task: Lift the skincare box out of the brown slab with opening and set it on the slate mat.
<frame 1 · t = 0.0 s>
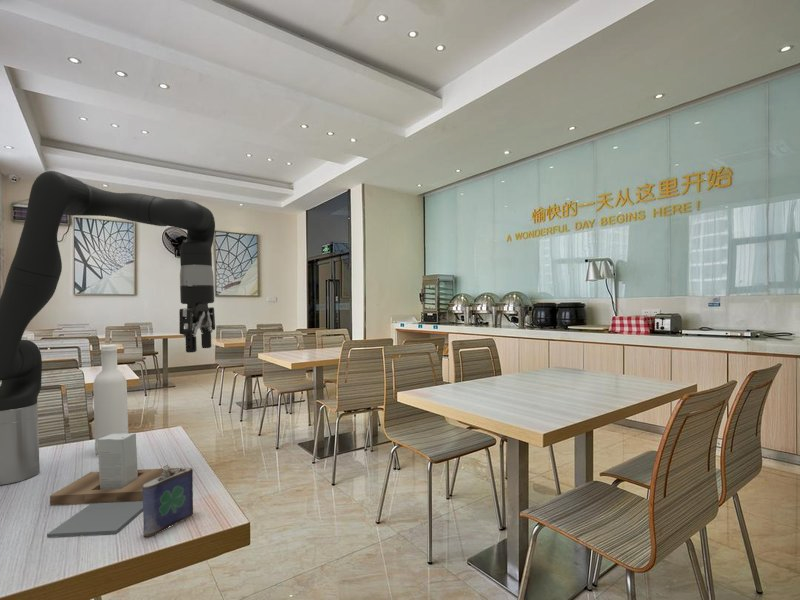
hand: (199, 350, 103), 29 cm above the table, tool pointing down, fingers open, 8 cm apart
bottle: (112, 452, 118), on the table
slate mat: (102, 519, 80), on the table
brown slab with opening: (119, 489, 93), on the table
flask: (169, 525, 77), on the table
skincare box: (119, 490, 93), resting in brown slab with opening
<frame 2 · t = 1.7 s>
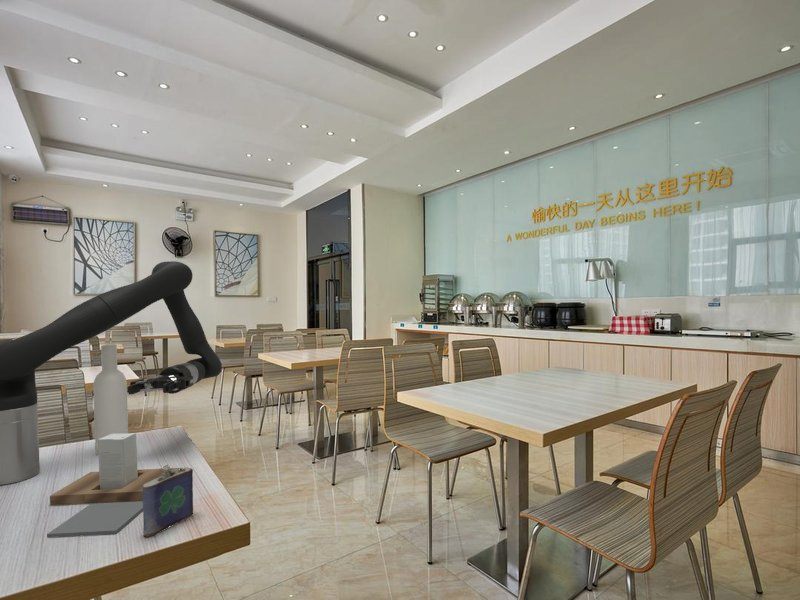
hand: (147, 389, 105), 20 cm above the table, tool horizontal, fingers open, 8 cm apart
nothing on the table moved.
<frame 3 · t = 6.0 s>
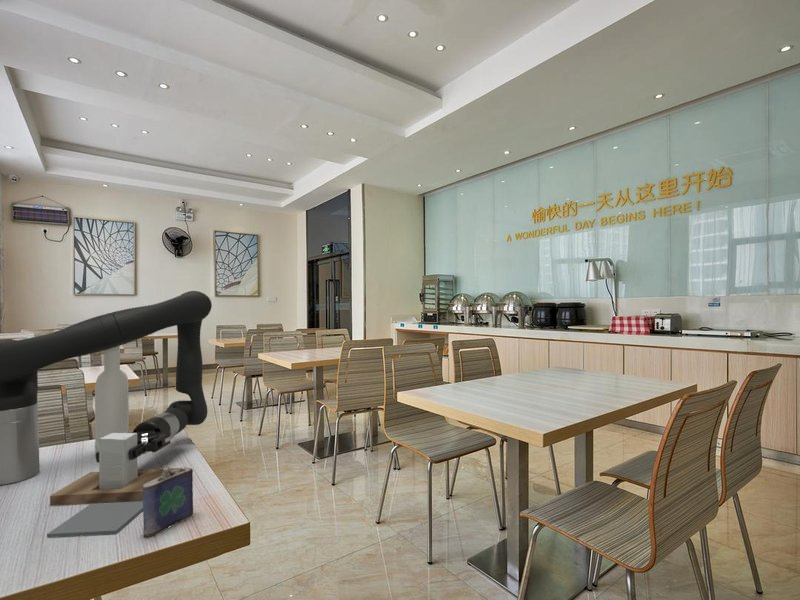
hand: (114, 456, 91), 8 cm above the table, tool horizontal, fingers closed on skincare box, 6 cm apart
bottle: (112, 450, 118), on the table, touching arm
skincare box: (118, 490, 93), resting in brown slab with opening, touching gripper
everything else where it was.
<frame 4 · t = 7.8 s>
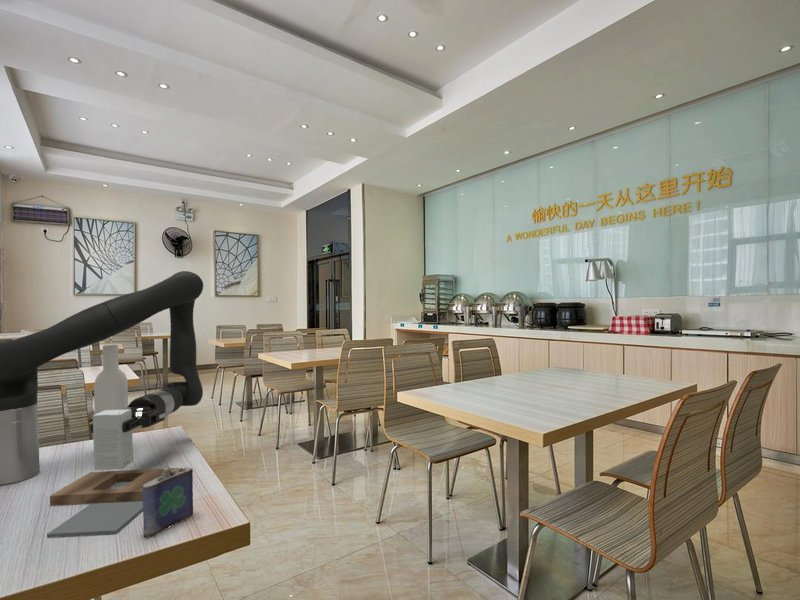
hand: (108, 428, 90), 14 cm above the table, tool horizontal, fingers closed on skincare box, 6 cm apart
bottle: (112, 451, 118), on the table
skincare box: (114, 467, 92), point 5 cm above the table, touching gripper
everything else where it was.
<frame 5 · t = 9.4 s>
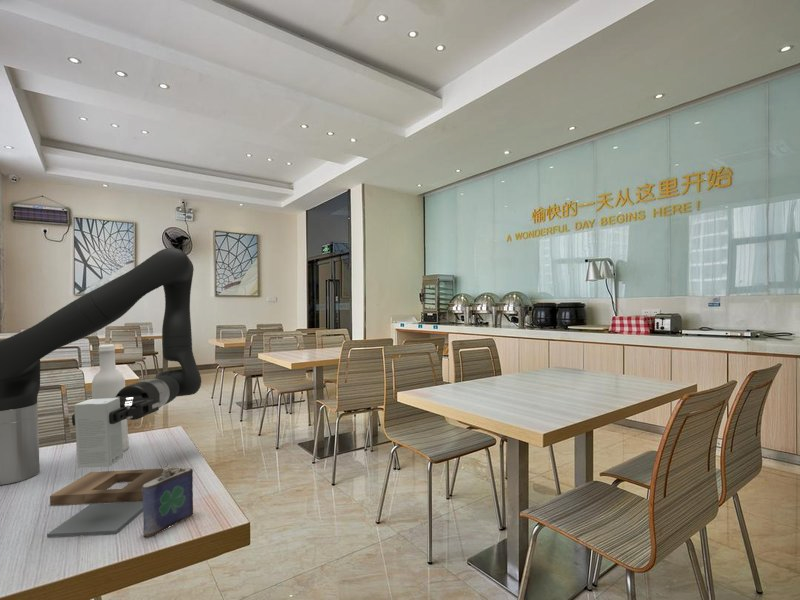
hand: (93, 419, 78), 20 cm above the table, tool horizontal, fingers closed on skincare box, 6 cm apart
skincare box: (100, 464, 80), point 11 cm above the table, touching gripper
when the fingers open (9 cm above the table, at t = 12.5 s): skincare box stays where it is, resting on slate mat.
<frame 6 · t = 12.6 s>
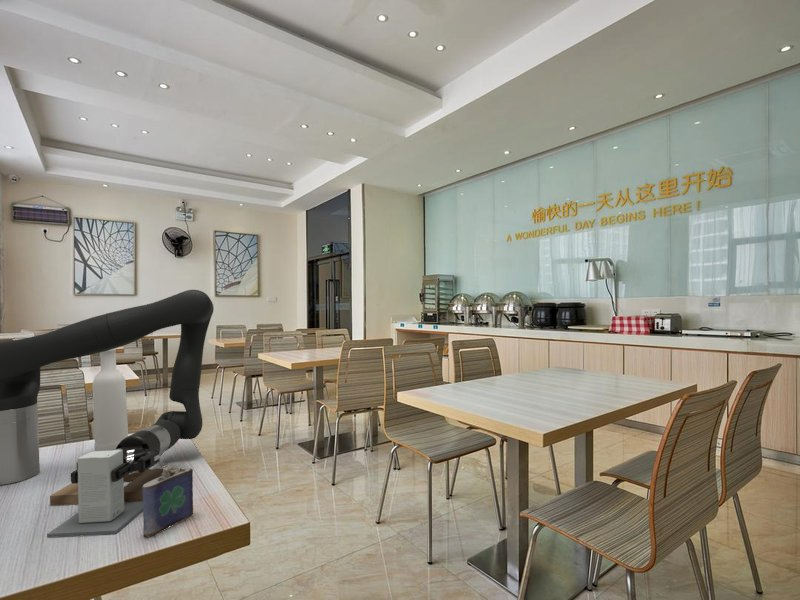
hand: (93, 477, 78), 9 cm above the table, tool horizontal, fingers open, 6 cm apart
skincare box: (101, 518, 79), resting on slate mat
everything else where it was.
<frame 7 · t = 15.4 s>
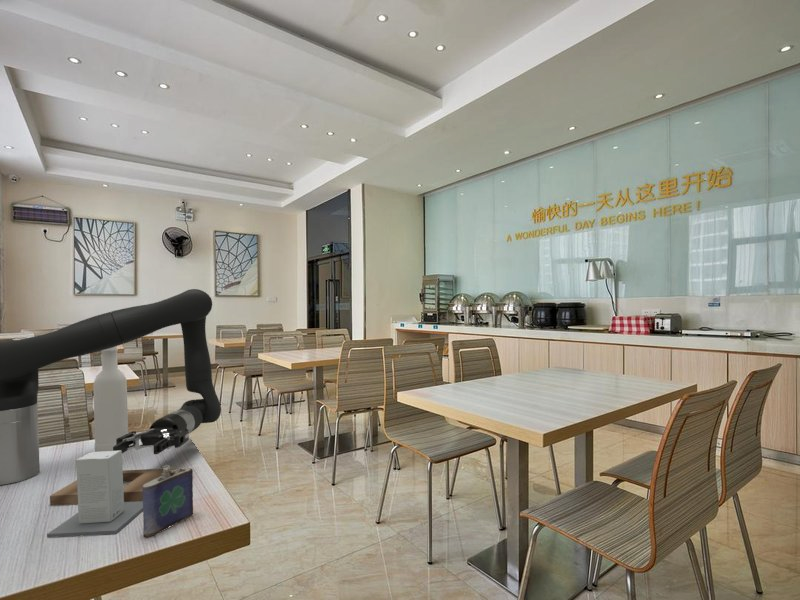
hand: (135, 450, 91), 9 cm above the table, tool horizontal, fingers open, 8 cm apart
nothing on the table moved.
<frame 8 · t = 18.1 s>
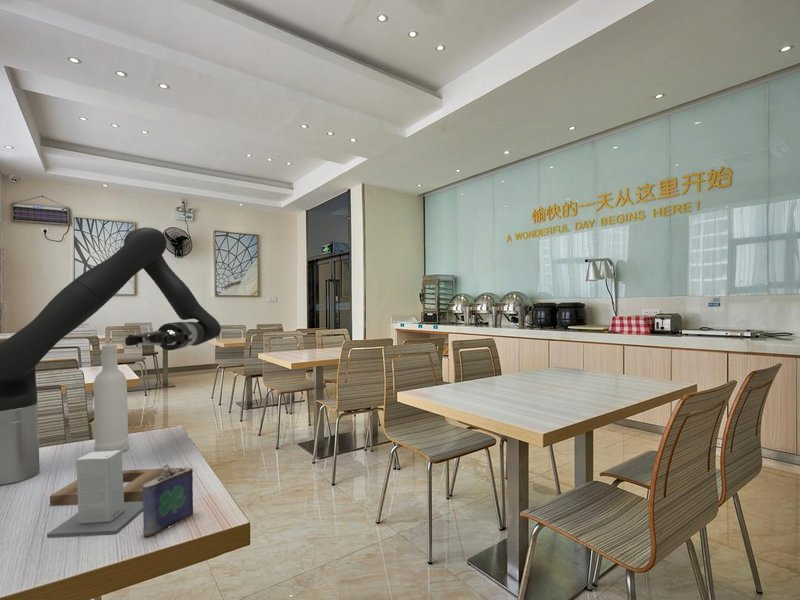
hand: (145, 340, 103), 32 cm above the table, tool horizontal, fingers open, 8 cm apart
nothing on the table moved.
at the end: skincare box inside the target area on the slate mat (0.5 cm from its centre), point 0.4 cm above the slate mat's base; skincare box tilted 0°; the gripper is holding nothing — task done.
